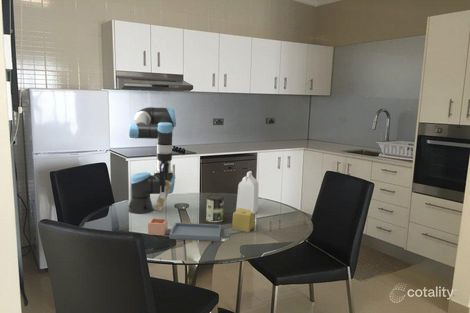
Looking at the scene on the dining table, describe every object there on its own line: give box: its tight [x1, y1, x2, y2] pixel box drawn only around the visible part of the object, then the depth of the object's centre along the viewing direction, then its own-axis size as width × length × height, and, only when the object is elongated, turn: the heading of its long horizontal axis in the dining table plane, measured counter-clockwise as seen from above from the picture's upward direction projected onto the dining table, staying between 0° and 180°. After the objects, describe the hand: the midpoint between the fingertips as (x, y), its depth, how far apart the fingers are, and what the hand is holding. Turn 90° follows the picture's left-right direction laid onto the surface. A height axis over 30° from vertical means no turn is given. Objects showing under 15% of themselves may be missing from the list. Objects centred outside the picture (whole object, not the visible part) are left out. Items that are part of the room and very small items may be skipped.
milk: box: [235, 170, 259, 215], centre depth 245 cm, size 12×12×26 cm
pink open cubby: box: [147, 217, 169, 236], centre depth 203 cm, size 9×9×6 cm
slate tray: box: [168, 222, 222, 242], centre depth 203 cm, size 26×18×2 cm
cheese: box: [231, 208, 256, 233], centre depth 214 cm, size 10×11×10 cm
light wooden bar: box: [153, 180, 172, 212], centre depth 200 cm, size 8×4×16 cm, turn 89°
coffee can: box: [205, 194, 225, 223], centre depth 227 cm, size 10×10×14 cm
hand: (163, 196), depth 200 cm, fingers closed on light wooden bar, 4 cm apart
